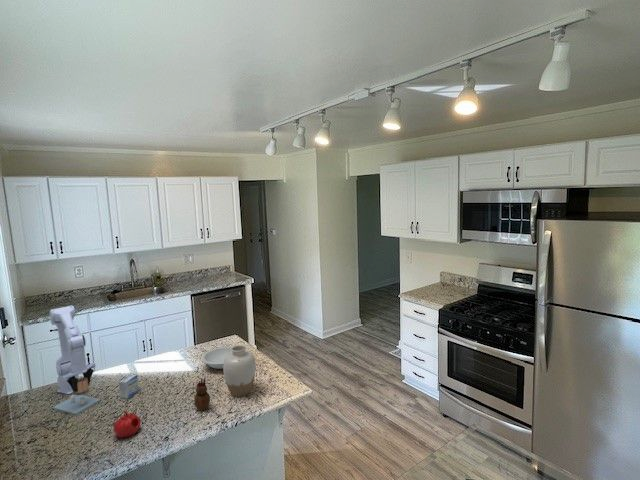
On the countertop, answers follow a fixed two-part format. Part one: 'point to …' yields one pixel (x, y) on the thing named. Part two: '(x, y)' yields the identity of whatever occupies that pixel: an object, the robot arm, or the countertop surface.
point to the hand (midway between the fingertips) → (81, 388)
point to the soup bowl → (216, 356)
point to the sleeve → (82, 386)
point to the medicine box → (129, 386)
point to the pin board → (76, 404)
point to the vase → (239, 371)
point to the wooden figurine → (201, 396)
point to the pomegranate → (127, 425)
